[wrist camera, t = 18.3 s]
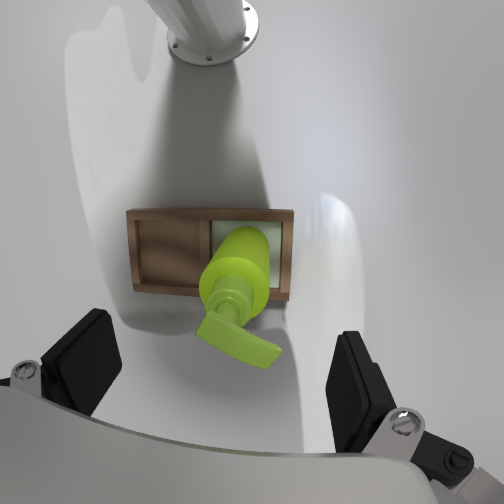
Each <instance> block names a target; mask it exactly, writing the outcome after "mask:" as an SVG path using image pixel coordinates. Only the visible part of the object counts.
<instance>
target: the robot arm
mask: <svg viewBox="0 0 504 504" xmlns="http://www.w3.org/2000/svg"><path fill="white" fill-rule="evenodd" d="M145 1H146V2H147V3H148V4H149V5H150V7H151V8H152V9H153V10H154V11H155V12H156V14H157V15H158V16H159V17H160V18H161V20H162V21H163V22H164V23H165V24H166V26H167V27H168V32H167V40H168V44H169V46H170V48H171V50H172V51H173V53H174V54H175V55H176V56H177V57H179V58H180V59H181V60H183V61H185V62H187V63H190V64H193V65H200V66H213V65H218V64H222V63H225V62H228V61H231V60H233V59H235V58H237V57H239V56H240V55H241V54H243V53H244V52H246V50H247V49H249V48H250V47H251V45H252V44H253V42H254V41H255V40H256V37H257V34H258V31H259V20H258V16H257V13H256V12H255V10H254V8H253V7H252V6H251V5H250V4H249V3H247V2H246V1H244V0H145ZM246 41H248V42H246ZM210 59H212V60H211V61H209V60H210ZM41 361H42V365H41V366H40V365H39V364H38V363H37V362H36V361H33V360H26V361H22V362H20V363H18V364H17V365H15V366H14V368H13V369H12V372H11V377H10V378H6V379H1V380H0V504H504V485H503V484H502V483H500V482H499V481H498V480H497V479H495V478H494V477H493V476H491V475H490V474H489V473H488V472H486V471H485V470H484V469H482V468H481V467H479V468H478V469H476V468H475V467H474V458H473V456H472V454H471V453H470V452H469V451H468V450H466V449H465V448H464V447H461V446H459V445H456V444H454V443H451V442H449V441H446V440H444V439H442V438H440V437H438V436H435V435H433V434H430V433H429V432H426V431H424V429H425V421H424V419H423V417H422V416H421V415H420V414H419V413H418V412H417V411H415V410H413V409H410V408H402V407H400V408H397V407H396V404H395V402H394V399H393V397H392V395H391V392H390V390H389V388H388V385H387V383H386V381H385V379H384V376H383V374H382V372H381V370H380V367H379V365H378V364H377V363H375V362H374V363H373V362H372V360H371V358H370V355H369V353H368V351H367V349H366V346H365V344H364V342H363V340H362V338H361V335H360V333H359V332H358V331H344V332H343V334H342V335H338V338H337V342H336V347H335V351H334V355H333V359H332V363H331V367H330V371H329V375H328V379H327V383H326V397H327V403H328V408H329V414H330V419H331V425H332V431H333V437H334V443H335V449H336V453H268V452H251V451H241V450H240V451H239V450H230V449H222V448H215V447H208V446H201V445H195V444H189V443H184V442H179V441H174V440H169V439H164V438H159V437H156V436H151V435H148V434H144V433H140V432H136V431H133V430H129V429H126V428H123V427H119V426H115V425H113V424H109V423H107V422H104V421H100V420H98V419H95V418H92V417H90V416H91V415H92V413H93V412H94V410H95V409H96V407H97V405H98V404H99V403H100V401H101V399H102V398H103V396H104V395H105V393H106V392H107V390H108V389H109V387H110V386H111V384H112V383H113V381H114V380H115V378H116V377H117V375H118V374H119V372H120V371H121V368H122V361H121V357H120V354H119V350H118V346H117V342H116V337H115V333H114V328H113V324H112V319H111V316H110V315H109V314H108V312H107V311H106V310H103V309H97V308H94V309H92V310H91V311H90V312H89V313H88V314H87V315H86V316H84V317H83V318H82V319H81V320H80V321H79V322H78V323H77V324H76V325H75V326H74V327H73V328H71V329H70V330H69V331H68V332H67V333H66V334H65V335H64V336H63V337H62V338H61V339H60V340H59V341H58V342H57V343H56V344H54V345H53V346H52V347H51V348H50V349H49V350H48V351H47V352H46V353H45V354H44V355H43V356H42V357H41Z"/></svg>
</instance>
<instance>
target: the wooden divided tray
mask: <svg viewBox="0 0 504 504" xmlns="http://www.w3.org/2000/svg"><path fill="white" fill-rule="evenodd" d="M126 216H127V231H128V244H129V254H130V264H131V272H132V280H133V288H134V291H137V292H148V293H159V294H171V295H184V296H197V297H200V294H199V281H200V278H201V275H202V273H203V272H204V270H205V269H206V267H207V265H208V264H209V262H210V261H211V259H212V258H213V256H214V255H215V253H216V252H217V250H218V249H219V247H220V246H221V244H222V242H223V241H224V239H225V238H226V236H227V235H228V234H229V233H230V232H231V231H232V230H234V229H236V228H239V227H244V226H248V227H253V228H256V229H258V230H259V231H261V232H262V233H263V234H264V235H265V237H266V238H267V240H268V243H269V248H270V293H269V299H268V300H274V301H289V294H290V279H291V262H292V243H293V242H292V241H293V221H294V212H293V210H276V209H241V208H147V209H131V210H128V211H126Z"/></svg>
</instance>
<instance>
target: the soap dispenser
mask: <svg viewBox="0 0 504 504" xmlns="http://www.w3.org/2000/svg"><path fill="white" fill-rule="evenodd" d="M269 293H270V248H269V243H268V240H267V238H266V237H265V235H264V234H263V233H262V232H261V231H259V230H258V229H256V228H253V227H248V226H244V227H239V228H236V229H234V230H232V231H231V232H230V233H229V234H228V235H227V236H226V238H225V239H224V241H223V242H222V244H221V246H220V247H219V249H218V250H217V252H216V253H215V255H214V256H213V258H212V259H211V261H210V262H209V264H208V265H207V267H206V269H205V270H204V272H203V273H202V275H201V278H200V281H199V294H200V298H201V300H202V302H203V304H204V306H205V313H206V316H205V317H204V319H203V320H202V322H201V324H200V325H199V327H198V328H197V330H196V332H195V335H196V336H198V337H199V338H201V339H202V340H204V341H206V342H207V343H209V344H210V345H212V346H214V347H215V348H217V349H219V350H221V351H222V352H224V353H226V354H228V355H229V356H231V357H233V358H235V359H237V360H240V361H242V362H244V363H247V364H250V365H253V366H256V367H259V368H262V369H268V368H269V367H270V366H271V365H272V364H273V363H274V362H275V360H276V359H277V358H278V357H279V356H280V354H281V353H282V352H283V351H282V350H281V349H280V347H279V346H278V345H275V344H273V343H270V342H268V341H265V340H263V339H261V338H259V337H257V336H255V335H253V334H251V333H250V332H248V331H246V330H244V329H243V328H242V327H243V326H245V325H246V324H247V323H248V321H249V320H250V319H252V318H254V317H255V316H257V315H258V314H259V313H260V312H261V311H262V310H263V309H264V308H265V306H266V304H267V302H268V299H269Z"/></svg>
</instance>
